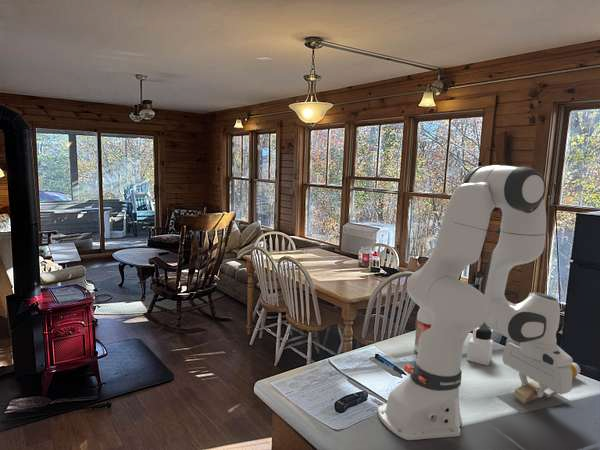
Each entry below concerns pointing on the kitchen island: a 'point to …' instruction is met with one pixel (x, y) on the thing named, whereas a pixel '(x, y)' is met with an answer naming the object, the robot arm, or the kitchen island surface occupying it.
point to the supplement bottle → (574, 369)
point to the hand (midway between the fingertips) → (531, 392)
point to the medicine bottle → (480, 346)
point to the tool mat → (532, 402)
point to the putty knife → (530, 392)
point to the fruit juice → (422, 324)
